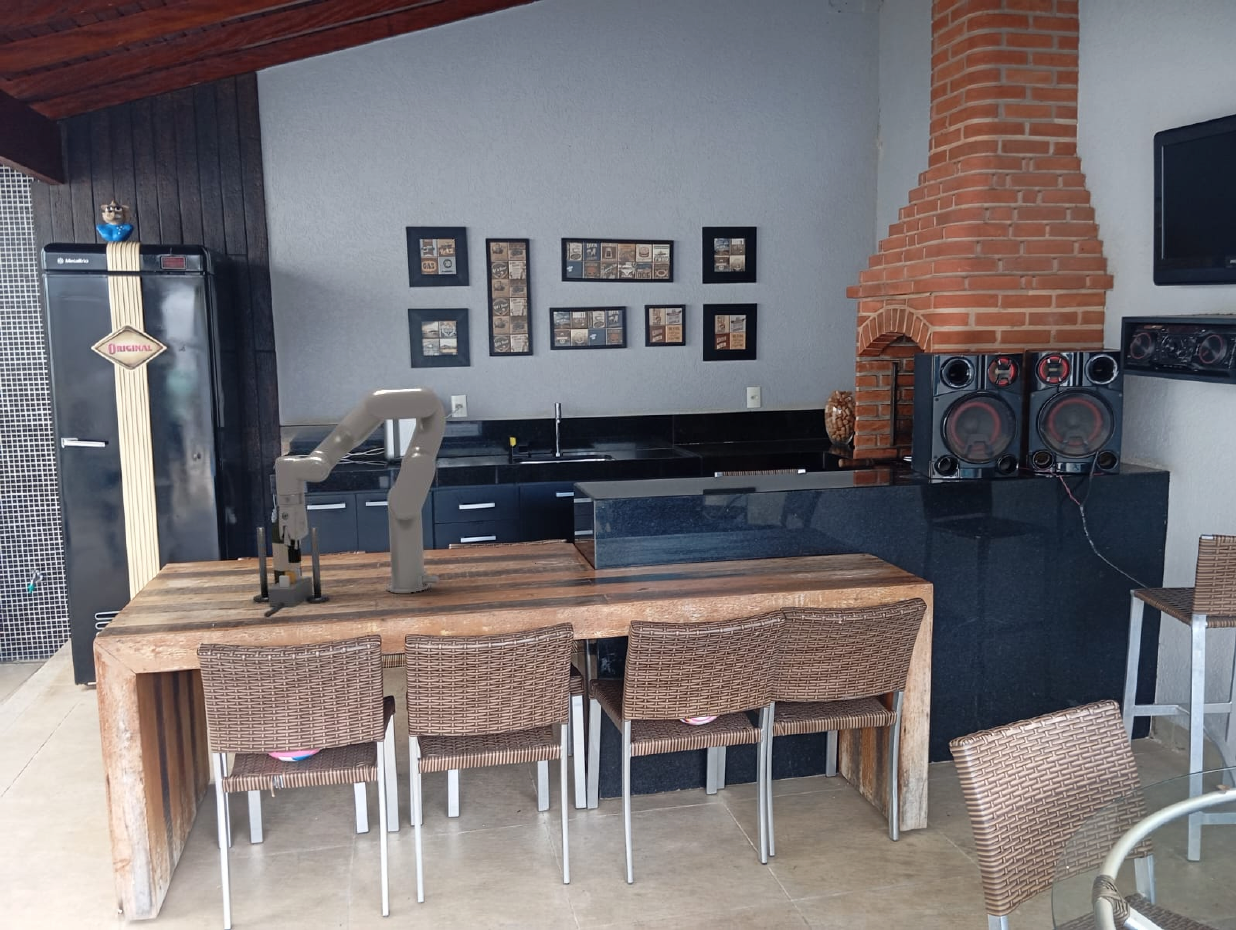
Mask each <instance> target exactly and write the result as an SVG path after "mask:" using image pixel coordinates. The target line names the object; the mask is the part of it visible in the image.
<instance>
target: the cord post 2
mask: <svg viewBox="0 0 1236 930" xmlns="http://www.w3.org/2000/svg"><path fill="white" fill-rule="evenodd" d="M309 530H310V531H309V533H310V547H311V549H310V550H311V552H310V553H311V563H312V564H311V566H312V587H313V594H312V595H310V596H308V597H306V599H305V602H306V603H307V602H308V604H321V603H320V602H323V603H326V602H329V601H330V599H331V598H330V595H329V594H326V593H322V583H321V582H322V581H321V566H320V565H321V564H320V549H319V545H320V544H319V533H318V531H319V528H318V526H316V527H315V526H314V527H309Z"/></svg>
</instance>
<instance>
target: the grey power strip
mask: <svg viewBox="0 0 1236 930" xmlns="http://www.w3.org/2000/svg"><path fill="white" fill-rule="evenodd" d="M291 571H295V582H294V583H290V581H289V576H279V583H278V584H276V583H275V585H273V586H271V587H270V588H269V587H268V594H269V602H268V603H269V606H270V609H269V610H267V611H266V612H264V614H263V615H264V617H265V618H266V617H269V616H270V615H272V614H274V613H275V612H277V611H278V610H280V609H281V608H283V607H284V608H287V607H289V608H294V607H296V606H298V605H299V604H301V603H302V602H303V601H305V600H306V599H305V598H306V597H308V596H311V595H314V590H313V576H308V575H307V576H305V575H302V576H301V574H300V569H291ZM304 599H305V600H304ZM295 605H296V606H295ZM269 606H268V607H269ZM272 606H275V607H272ZM271 607H272V608H271Z"/></svg>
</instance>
